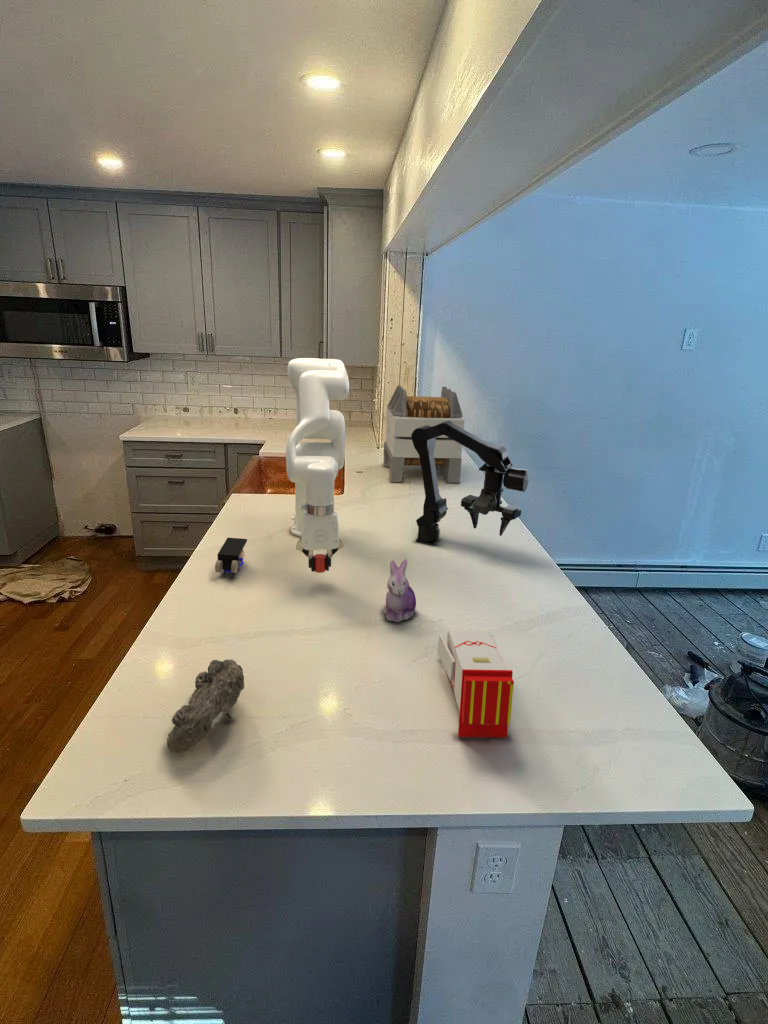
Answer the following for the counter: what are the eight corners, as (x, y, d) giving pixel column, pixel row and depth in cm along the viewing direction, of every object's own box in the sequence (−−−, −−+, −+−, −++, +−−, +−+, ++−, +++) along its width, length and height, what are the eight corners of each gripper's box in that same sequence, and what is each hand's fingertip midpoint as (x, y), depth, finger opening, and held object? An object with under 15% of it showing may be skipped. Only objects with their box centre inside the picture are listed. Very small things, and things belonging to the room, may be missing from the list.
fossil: (192, 660, 117) (244, 628, 112) (224, 691, 120) (276, 661, 115) (142, 746, 98) (202, 712, 93) (182, 779, 101) (242, 748, 96)
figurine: (392, 627, 141) (395, 572, 136) (374, 608, 149) (376, 556, 144) (425, 619, 145) (429, 566, 140) (405, 601, 154) (408, 550, 149)
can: (323, 573, 159) (323, 559, 157) (311, 571, 159) (311, 557, 158) (327, 568, 162) (327, 554, 160) (315, 566, 162) (315, 553, 161)
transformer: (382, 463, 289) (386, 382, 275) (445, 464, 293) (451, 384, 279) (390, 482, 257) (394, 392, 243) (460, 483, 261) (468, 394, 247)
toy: (488, 613, 130) (523, 677, 101) (484, 667, 133) (517, 744, 104) (435, 612, 130) (455, 676, 101) (432, 666, 133) (451, 743, 103)
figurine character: (238, 584, 162) (249, 557, 175) (236, 562, 158) (247, 536, 172) (215, 584, 161) (227, 556, 175) (212, 561, 158) (225, 535, 171)
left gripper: (289, 514, 149) (290, 576, 155) (352, 512, 152) (350, 573, 159) (288, 504, 156) (289, 565, 162) (348, 503, 159) (346, 562, 166)
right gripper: (454, 484, 177) (450, 531, 182) (509, 498, 167) (503, 547, 172) (471, 477, 185) (467, 522, 191) (524, 490, 175) (518, 536, 180)
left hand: (319, 568), depth 160 cm, fingers closed on can, 3 cm apart
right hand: (487, 531), depth 183 cm, fingers open, 9 cm apart
